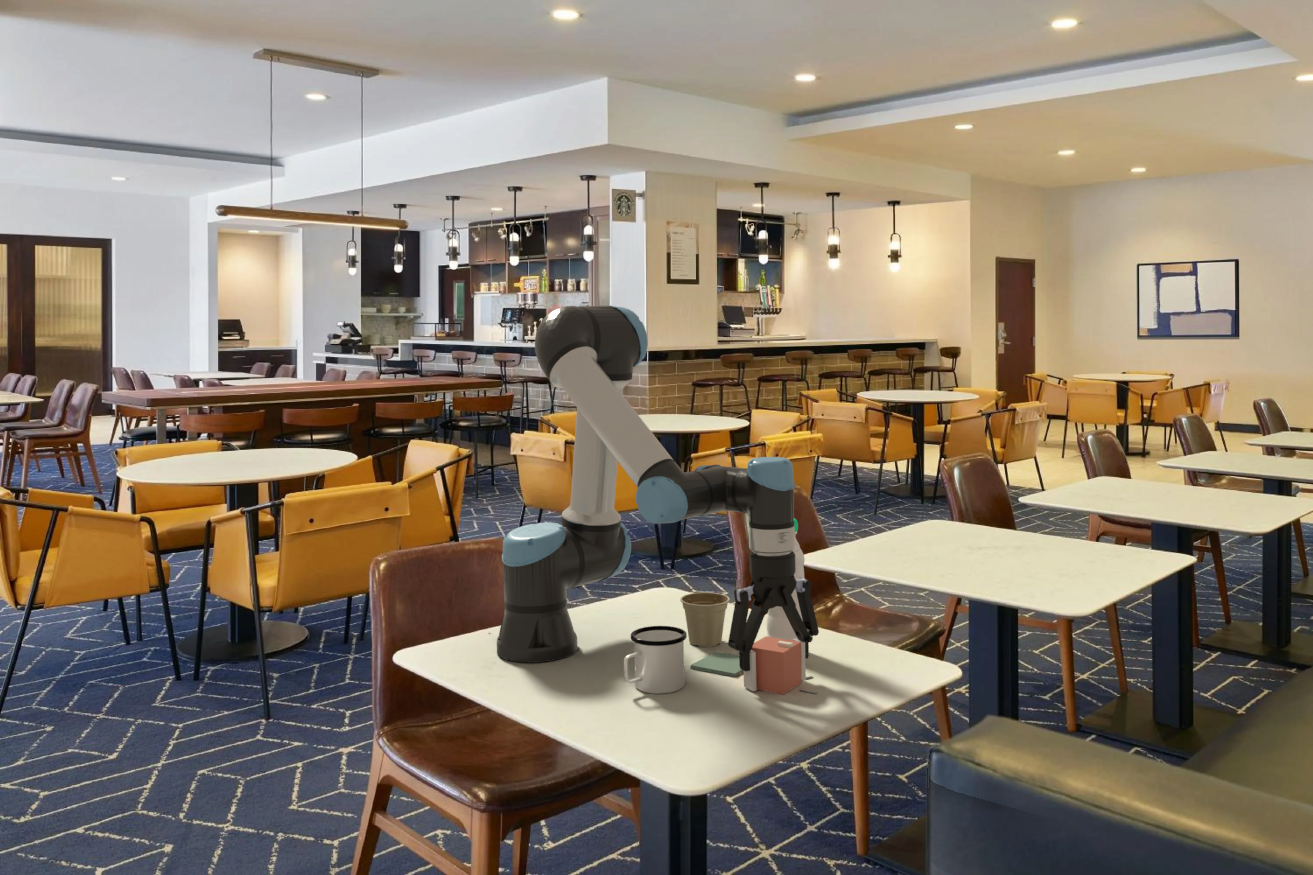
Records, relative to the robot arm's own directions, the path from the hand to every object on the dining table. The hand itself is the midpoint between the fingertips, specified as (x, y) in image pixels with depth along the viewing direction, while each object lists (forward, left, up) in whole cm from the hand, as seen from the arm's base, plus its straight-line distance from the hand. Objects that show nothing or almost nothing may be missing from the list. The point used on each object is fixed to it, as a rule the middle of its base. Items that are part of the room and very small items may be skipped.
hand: (775, 683), depth 172 cm
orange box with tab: (0, 0, 0) cm, 0 cm away
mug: (-17, -11, -1) cm, 20 cm away
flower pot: (-22, +15, -1) cm, 27 cm away
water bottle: (-6, +17, 0) cm, 18 cm away
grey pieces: (+3, +2, 0) cm, 4 cm away
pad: (-12, +5, 0) cm, 13 cm away
